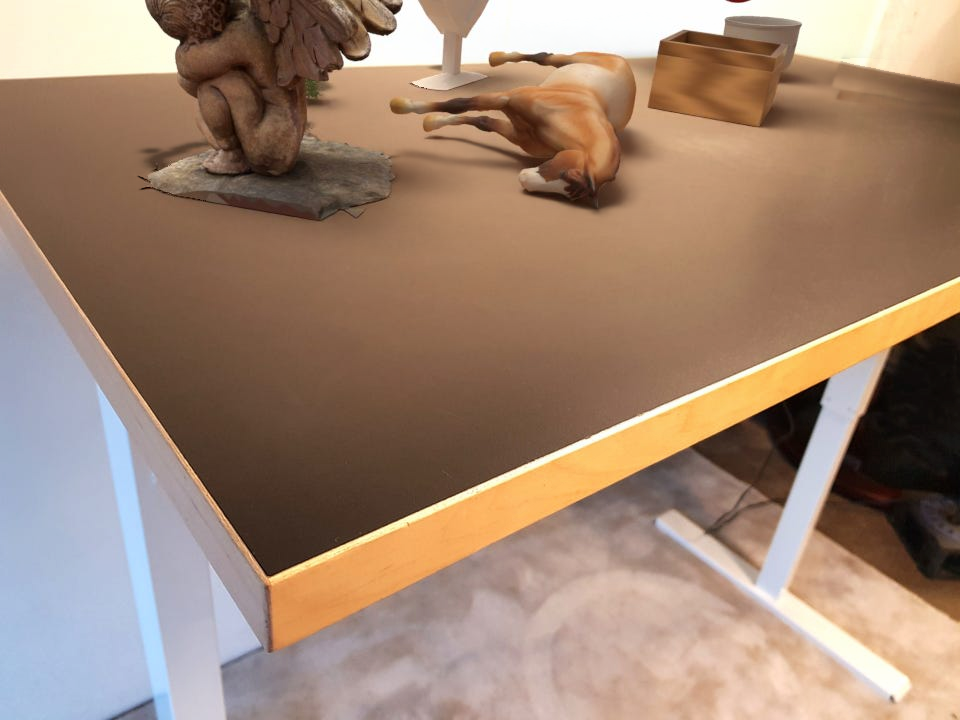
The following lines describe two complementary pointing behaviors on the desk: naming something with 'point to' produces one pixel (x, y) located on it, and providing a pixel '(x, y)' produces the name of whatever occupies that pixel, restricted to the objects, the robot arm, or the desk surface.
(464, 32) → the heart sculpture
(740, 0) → the christmas ornament
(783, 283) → the desk surface
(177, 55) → the cherub figurine
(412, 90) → the desk surface
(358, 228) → the desk surface
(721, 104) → the wooden box
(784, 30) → the teacup
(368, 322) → the desk surface
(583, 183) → the horse figurine
